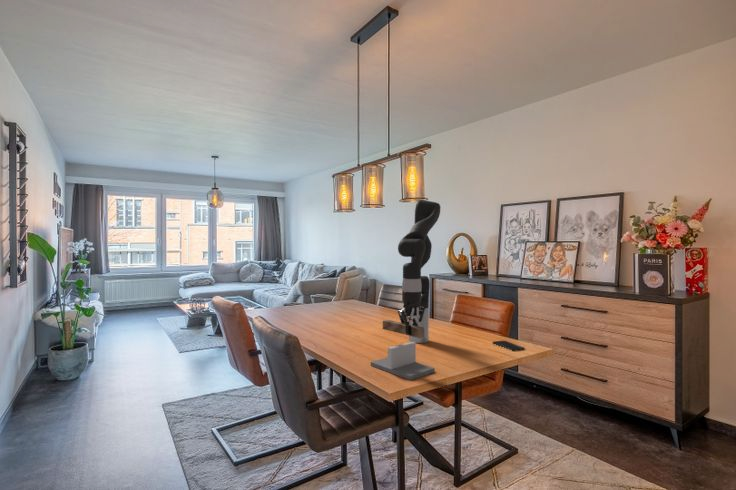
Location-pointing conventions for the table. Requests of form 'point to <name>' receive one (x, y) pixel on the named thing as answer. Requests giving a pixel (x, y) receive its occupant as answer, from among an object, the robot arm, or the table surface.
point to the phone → (508, 345)
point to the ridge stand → (403, 362)
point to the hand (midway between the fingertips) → (411, 333)
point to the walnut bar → (403, 328)
